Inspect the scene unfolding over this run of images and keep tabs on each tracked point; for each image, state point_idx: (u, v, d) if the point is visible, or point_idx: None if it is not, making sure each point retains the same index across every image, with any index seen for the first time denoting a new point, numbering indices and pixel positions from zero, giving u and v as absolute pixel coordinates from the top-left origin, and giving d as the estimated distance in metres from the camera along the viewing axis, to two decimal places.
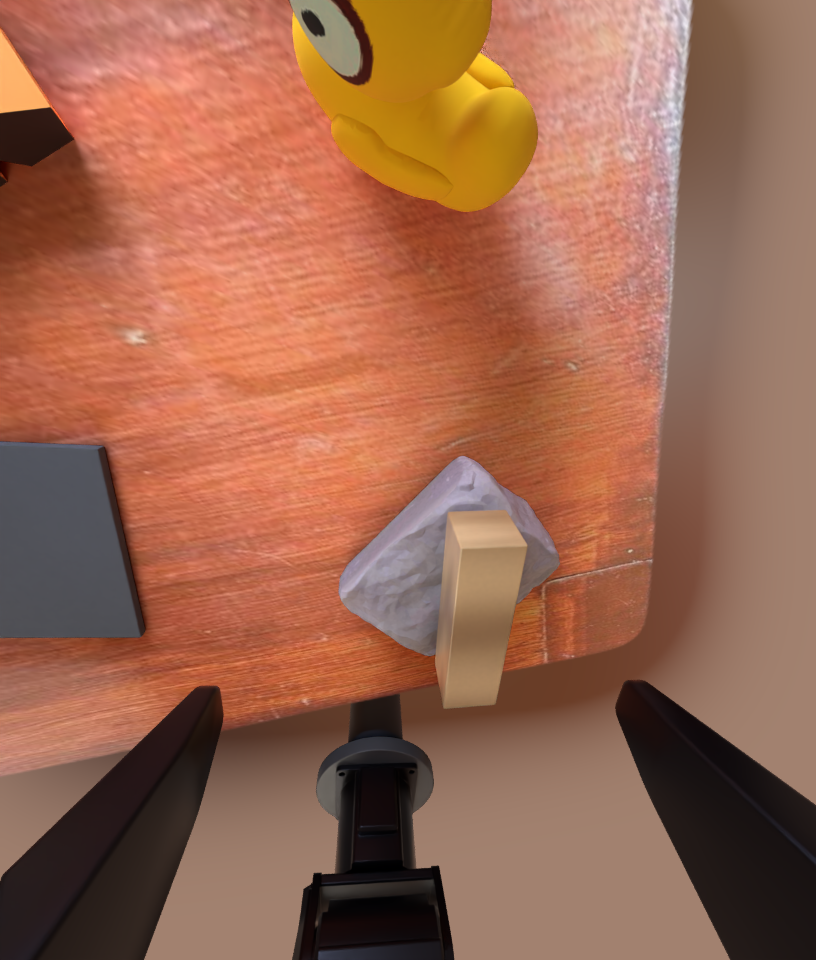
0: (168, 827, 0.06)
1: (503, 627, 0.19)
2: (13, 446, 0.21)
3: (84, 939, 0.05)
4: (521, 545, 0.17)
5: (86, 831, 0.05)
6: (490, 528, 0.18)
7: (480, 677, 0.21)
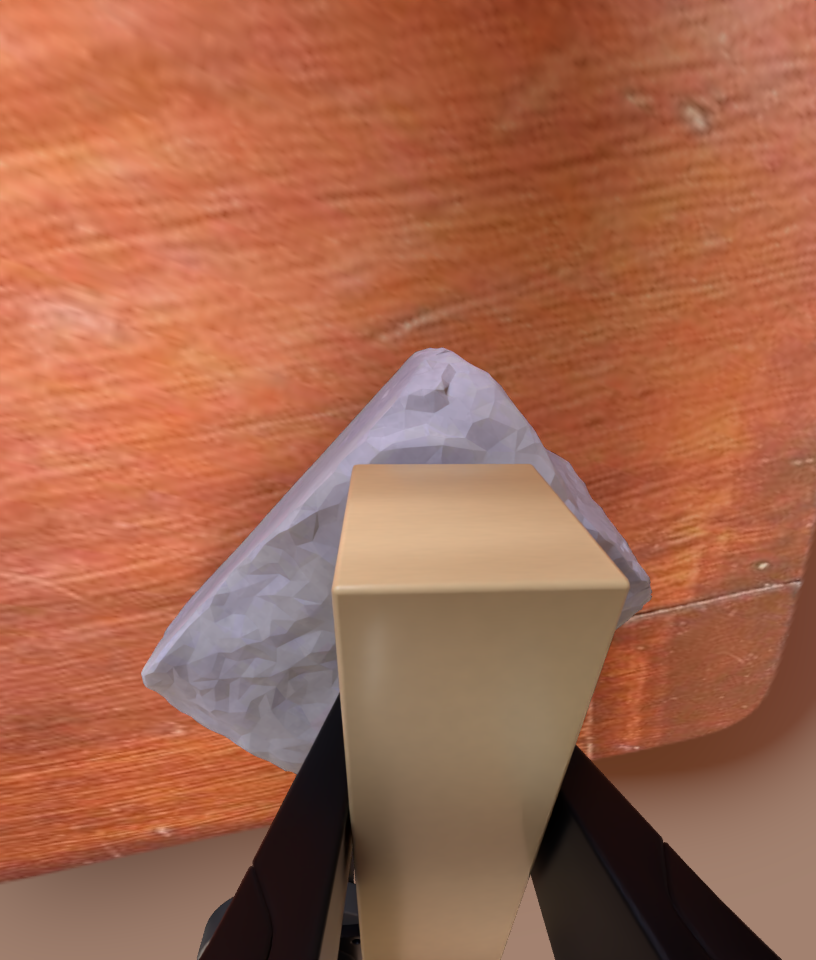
0: None
1: (520, 833, 0.06)
2: None
3: (331, 921, 0.05)
4: (604, 580, 0.04)
5: (304, 821, 0.06)
6: (478, 512, 0.05)
7: (455, 929, 0.08)
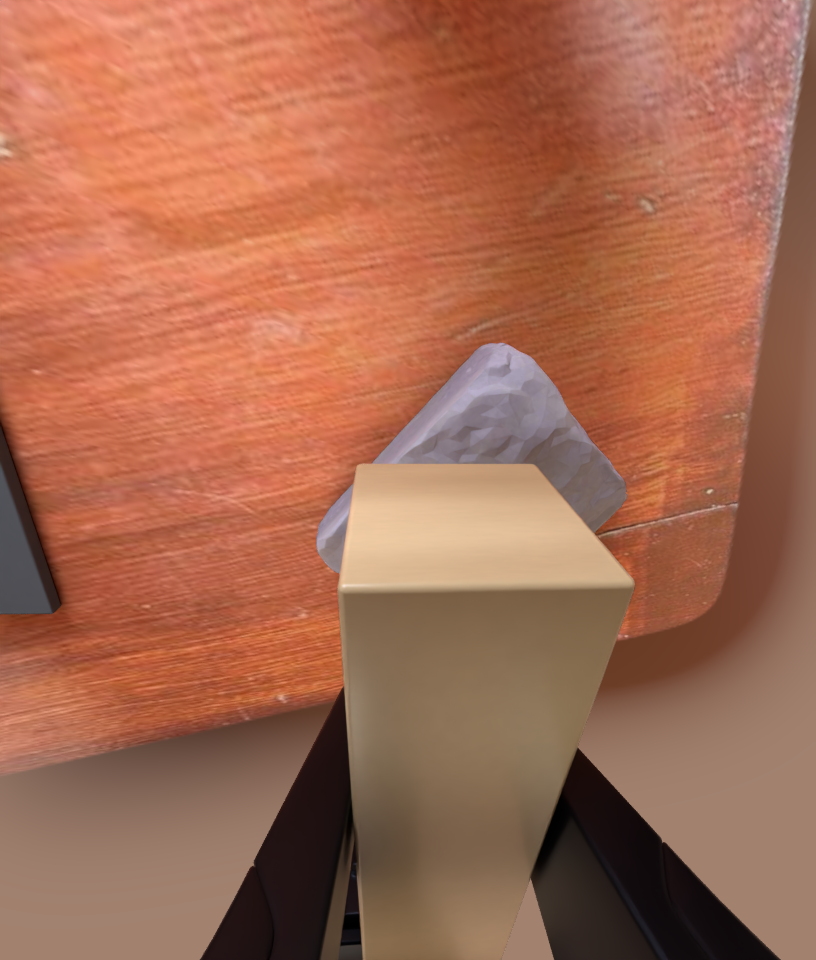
0: None
1: (522, 833, 0.06)
2: None
3: (332, 921, 0.05)
4: (609, 579, 0.04)
5: (306, 820, 0.06)
6: (483, 512, 0.05)
7: (456, 929, 0.08)
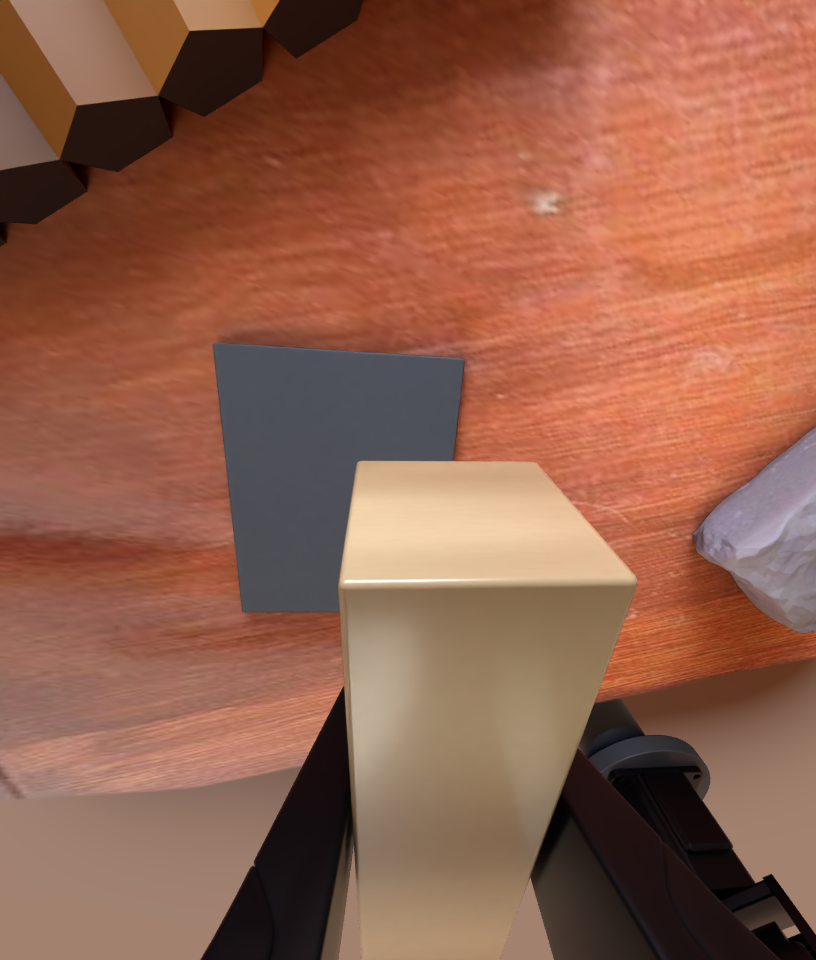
0: None
1: (522, 831, 0.06)
2: (362, 355, 0.16)
3: (333, 921, 0.05)
4: (611, 577, 0.04)
5: (305, 822, 0.06)
6: (484, 509, 0.05)
7: (455, 928, 0.08)
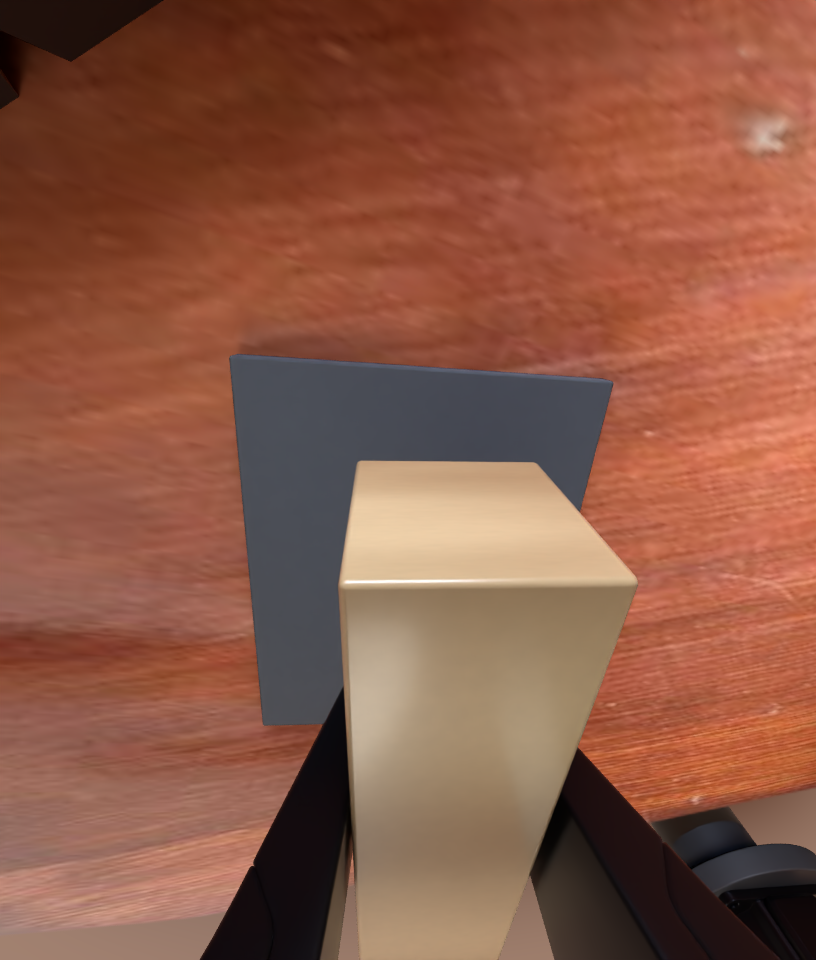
0: None
1: (521, 832, 0.06)
2: (461, 374, 0.10)
3: (332, 921, 0.05)
4: (612, 577, 0.04)
5: (305, 821, 0.06)
6: (484, 510, 0.05)
7: (453, 929, 0.08)
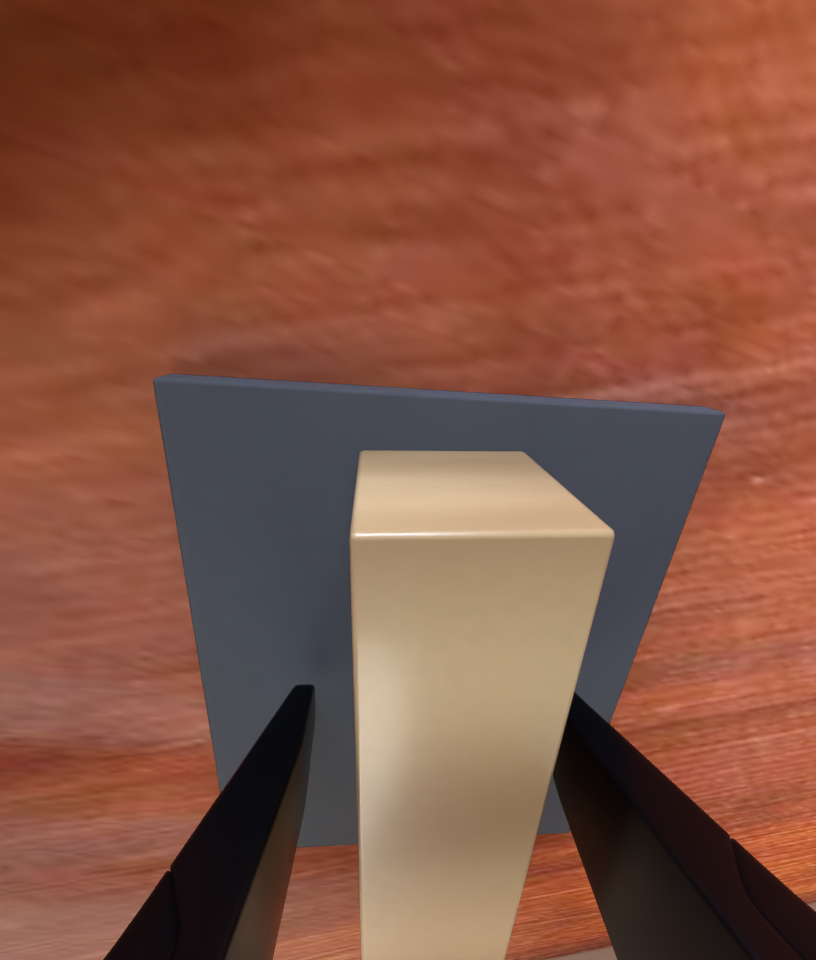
0: (291, 821, 0.06)
1: (520, 805, 0.06)
2: (504, 404, 0.07)
3: (250, 927, 0.05)
4: (592, 529, 0.04)
5: (232, 825, 0.06)
6: (478, 484, 0.06)
7: (457, 924, 0.07)
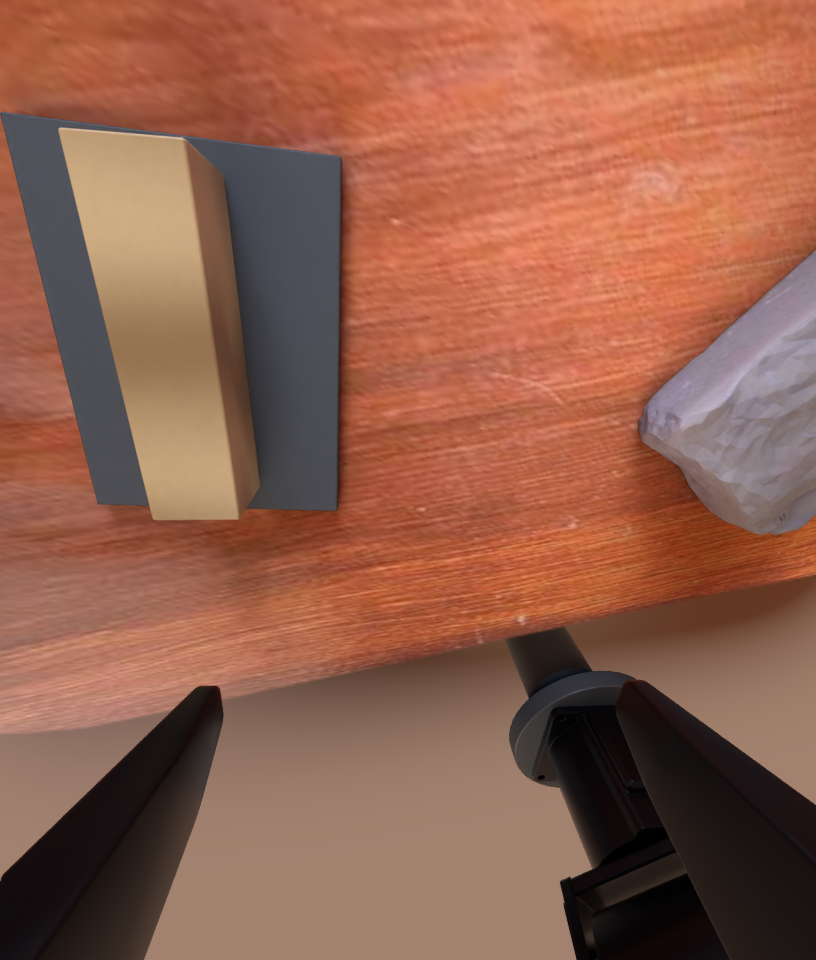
0: (168, 827, 0.06)
1: (198, 340, 0.12)
2: (206, 142, 0.12)
3: (84, 939, 0.05)
4: None
5: (86, 832, 0.05)
6: None
7: (194, 453, 0.13)
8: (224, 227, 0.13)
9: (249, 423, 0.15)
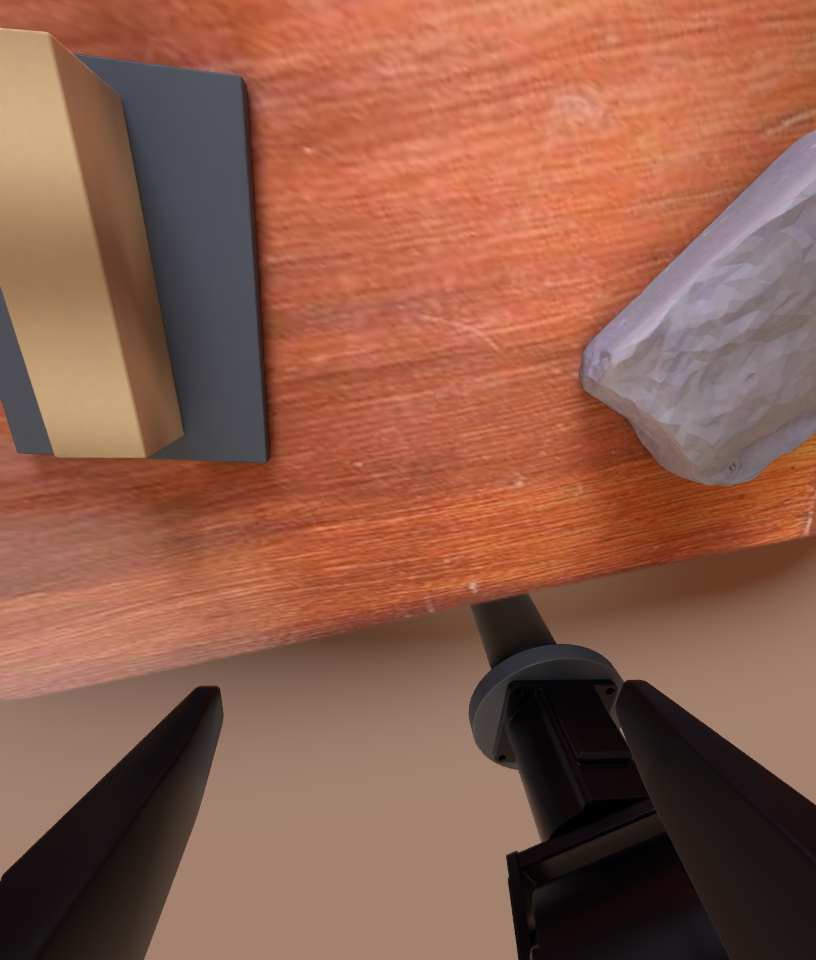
0: (168, 827, 0.06)
1: (84, 257, 0.11)
2: (101, 61, 0.12)
3: (84, 939, 0.05)
4: None
5: (85, 832, 0.05)
6: None
7: (91, 384, 0.13)
8: (121, 148, 0.12)
9: (164, 364, 0.15)
